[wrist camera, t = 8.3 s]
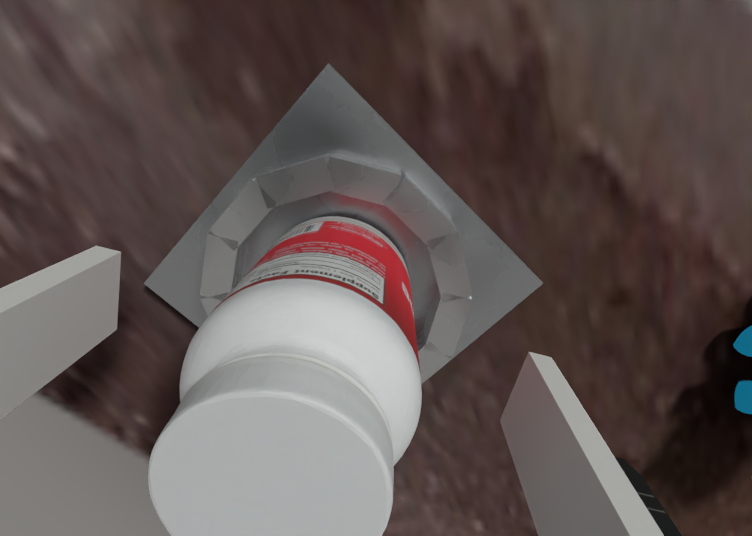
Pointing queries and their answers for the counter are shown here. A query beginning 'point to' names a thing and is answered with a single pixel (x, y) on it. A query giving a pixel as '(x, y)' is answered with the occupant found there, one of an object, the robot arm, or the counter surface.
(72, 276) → the robot arm
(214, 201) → the duct flange
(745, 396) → the blue knobbed piece
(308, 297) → the pill bottle
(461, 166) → the counter surface
